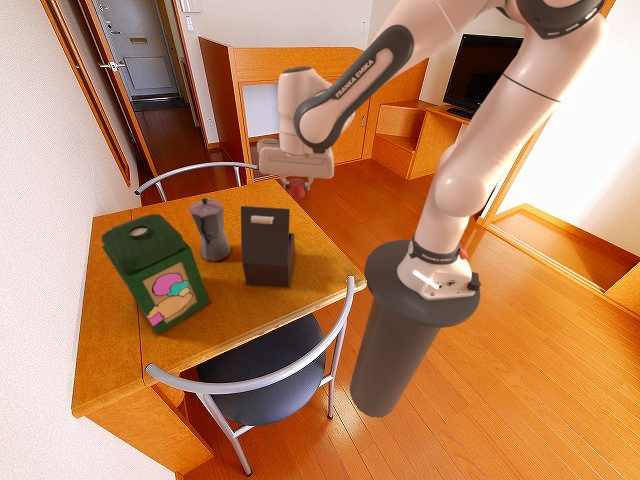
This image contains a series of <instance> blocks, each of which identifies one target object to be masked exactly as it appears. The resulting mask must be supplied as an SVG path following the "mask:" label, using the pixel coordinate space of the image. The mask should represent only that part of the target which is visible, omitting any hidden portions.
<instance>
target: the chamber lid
mask: <svg viewBox="0 0 640 480" xmlns="http://www.w3.org/2000/svg"><path fill="white" fill-rule="evenodd" d="M290 215H291V208H281V207H267V206H266V207H265V206H264V207H263V206H252V205H251V206H250V205H240V240H241V241H240V245H241V246H240V247H241V248H240V249H241V250H240V252H241V253H240V254H241V264H242V263H257V264H272V265H288V252H289V233H290V218H291V217H290Z"/></svg>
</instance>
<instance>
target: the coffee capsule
mask: <svg viewBox="0 0 640 480" xmlns="http://www.w3.org/2000/svg"><path fill="white" fill-rule="evenodd" d="M288 181H289V189H288V190H289V192H288V193H289V194H288V195H289V196H290V197H291V198H294V199H299V198H300V199H301V198H303V197H304V196H305V193H306V192H305V191H306V190H304V184H305V182H306V181H305V180H304V179H303V178H301V177H294V178H291V179H289V180H288Z"/></svg>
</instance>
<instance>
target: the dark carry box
mask: <svg viewBox="0 0 640 480" xmlns="http://www.w3.org/2000/svg"><path fill="white" fill-rule="evenodd" d="M295 243H296V242H295V233H294V232H289V252H288V265H272V264H257V263H242V262H241V264H242V269H243V274H244V279H245V285H251V286H264V287H265V286H266V287H279V288H281V287H282V288H289V287H290V283H291V279H292V278H291V277H292V273H293V265H294V261H295V255H296V253H295V251H296V250H295V249H296V247H295Z"/></svg>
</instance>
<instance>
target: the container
mask: <svg viewBox="0 0 640 480" xmlns="http://www.w3.org/2000/svg"><path fill="white" fill-rule="evenodd" d="M101 242H102V244H103V245H102V246H101V248H102V249H103V251H104V253H105V254H106V255H107V258H108V259H109V261H110V262H111V264H112V265H113V267H114V269H115V270H116V272H117V273H118V275H119V277H120V278H121V280H122V282H123V283H124V285H125V286H126V288H127V289H128V291H129V293H130V294H131V296H132V297H133V299H134V301H135V302H136V304H137V305H138V307H139V308H140V310H141V312H142V313H143V314H144V317H146V319H147V320H148V322H149V323H150V325H151V326H152V328H153V329H154V331H155V333H156V334H157V335H159V336H160V335H161V334H162V333H164V332H165V331H167V330H168V329H170V328H172V327H173V326H175V325H176V324H178V323H179V322H181V321H183V320H184V319H186V318H187V317H189V316H191V315H192V314H195V312H197V311H198V310H200V309H201V308H203V307H205V306H206V305H208V304H210V303H211V302H210V300H209V299H210V298H209V297H208V293H207V291H206V288H205V285H204V282H203V278H202V276H201V272H200V271H199V268H198V265H197V262H196V259H195V256H194V254H193V253H194V252H193V250H192V248H191V246H190V245H189V244H188V243H187V242H186V241H185V240H184V238H183V236H182V234H181V233H180V232H179V231H178V230H177V229H175V228H174V227H173V225H171V223H170V222H169V221H168V220H166V218H165V217H163V216H162V215H161V214H159V213H152V214H148V215H143V216H139V217H137V218H135V219H132V220H130V221H126V222H124V223H121V224H119V225H116V226H113V227H112V228H111V229H109V230H106V231H105V232H104V233H103V234H102V235H101Z"/></svg>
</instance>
